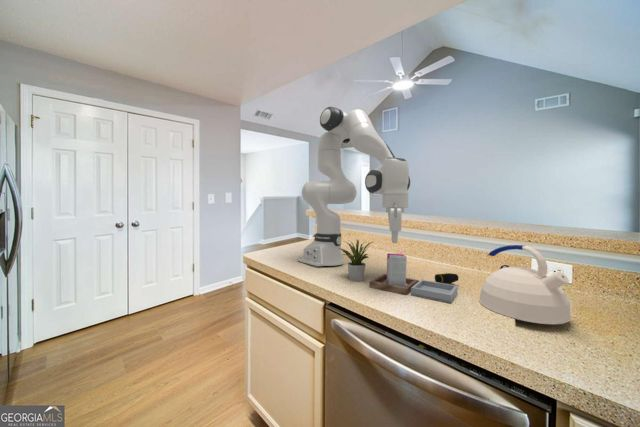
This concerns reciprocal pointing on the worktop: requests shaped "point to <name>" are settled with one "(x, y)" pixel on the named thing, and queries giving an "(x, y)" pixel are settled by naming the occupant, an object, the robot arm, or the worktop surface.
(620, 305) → the worktop surface
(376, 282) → the brown square frame
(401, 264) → the supplement box
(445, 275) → the tape measure
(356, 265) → the house plant
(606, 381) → the worktop surface
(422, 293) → the grey tray
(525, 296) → the kettle
